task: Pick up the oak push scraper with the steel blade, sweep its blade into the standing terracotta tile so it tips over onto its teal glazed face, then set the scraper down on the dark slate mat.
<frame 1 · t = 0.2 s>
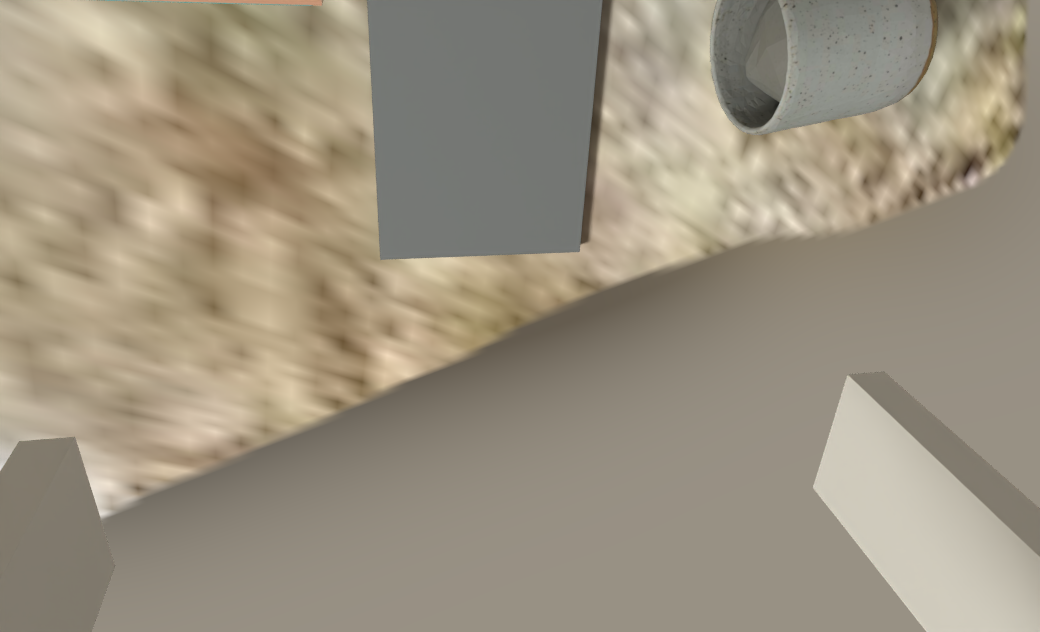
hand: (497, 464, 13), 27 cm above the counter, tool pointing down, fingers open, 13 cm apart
ceramic mug: (775, 4, 38), on the counter
slate mat: (483, 113, 37), on the counter
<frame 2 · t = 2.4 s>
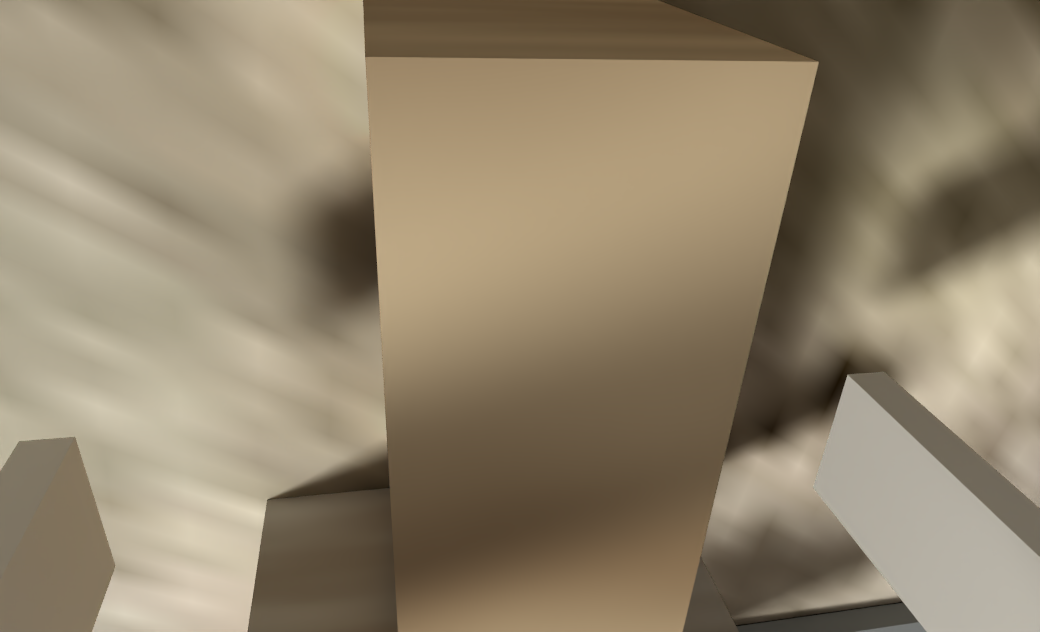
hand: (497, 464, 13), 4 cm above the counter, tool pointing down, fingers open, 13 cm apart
oak scraper: (472, 272, 16), on the counter
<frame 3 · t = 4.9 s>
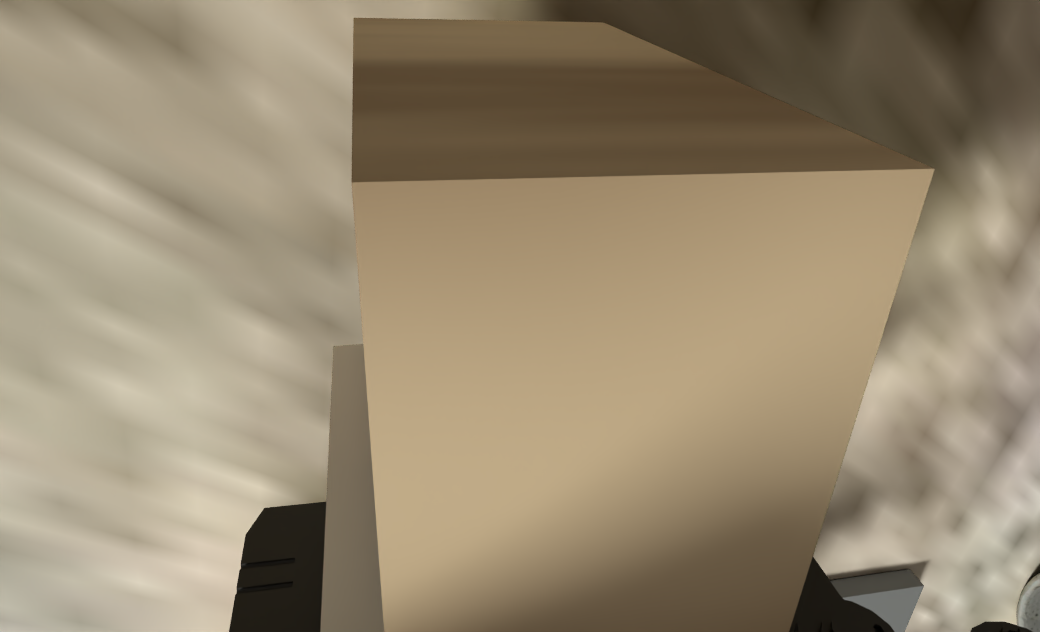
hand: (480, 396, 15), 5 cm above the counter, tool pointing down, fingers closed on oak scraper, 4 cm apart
oak scraper: (478, 345, 15), point 4 cm above the counter, touching gripper
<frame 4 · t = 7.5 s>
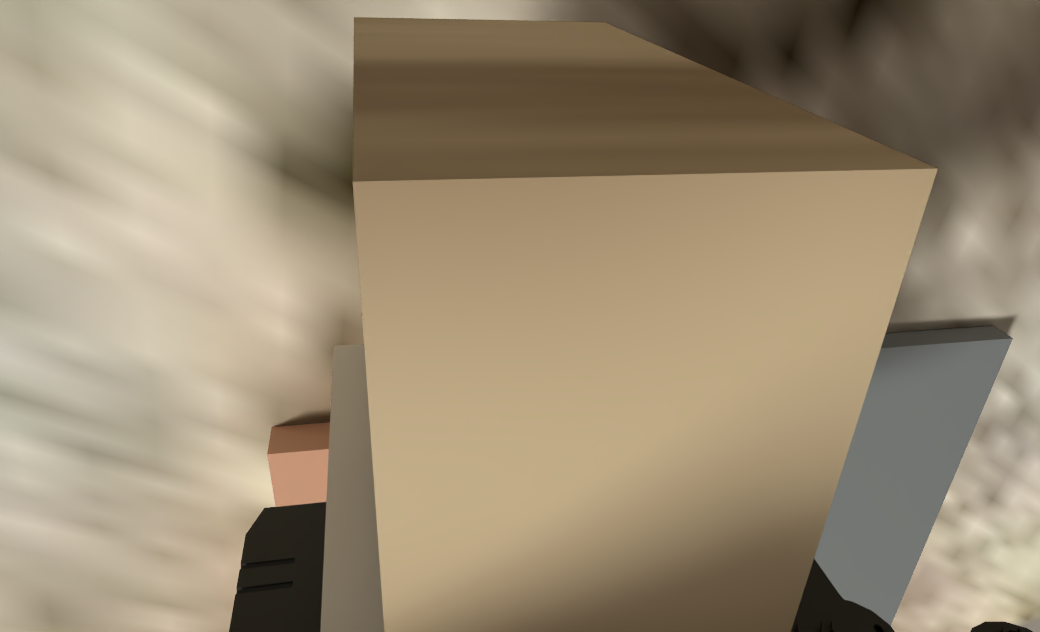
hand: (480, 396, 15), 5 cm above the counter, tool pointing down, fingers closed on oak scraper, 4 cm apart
oak scraper: (478, 345, 14), point 5 cm above the counter, touching gripper
slate mat: (787, 516, 26), on the counter
glazed tile: (453, 420, 21), on the counter, tilted 90°
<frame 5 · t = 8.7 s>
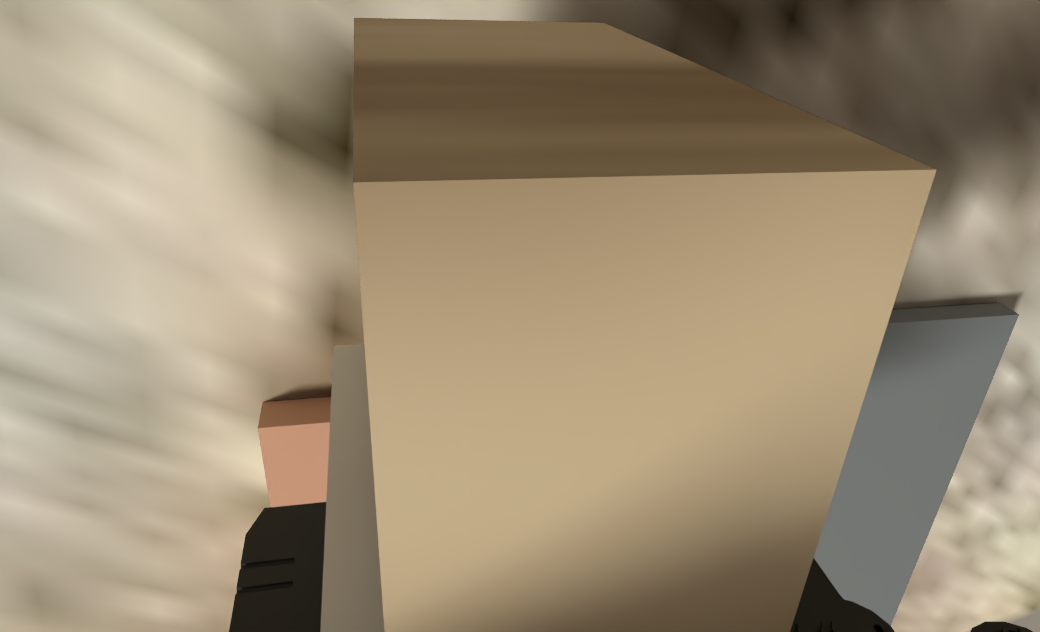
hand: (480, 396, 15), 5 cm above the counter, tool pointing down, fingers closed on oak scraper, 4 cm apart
oak scraper: (478, 345, 14), point 5 cm above the counter, touching gripper
slate mat: (790, 500, 26), on the counter
glazed tile: (449, 395, 20), on the counter, tilted 90°
when the fingers open (2 cm above the counter, at t = 12.5 s): oak scraper stays where it is, resting on slate mat.
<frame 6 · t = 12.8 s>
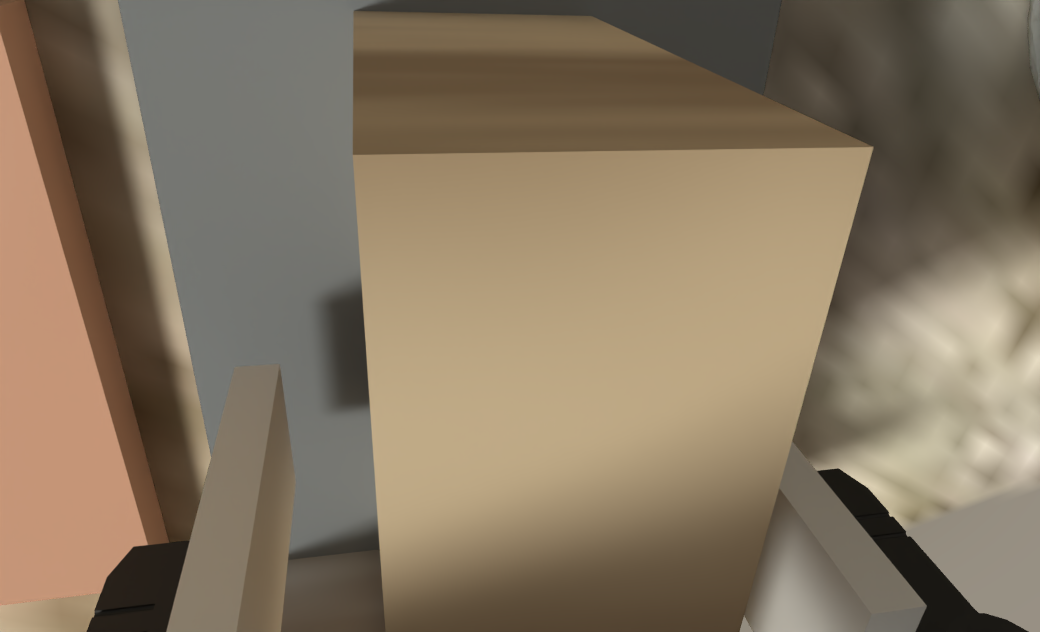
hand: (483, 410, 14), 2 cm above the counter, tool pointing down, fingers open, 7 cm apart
oak scraper: (472, 326, 15), point 1 cm above the counter, touching slate mat
slate mat: (467, 306, 16), on the counter
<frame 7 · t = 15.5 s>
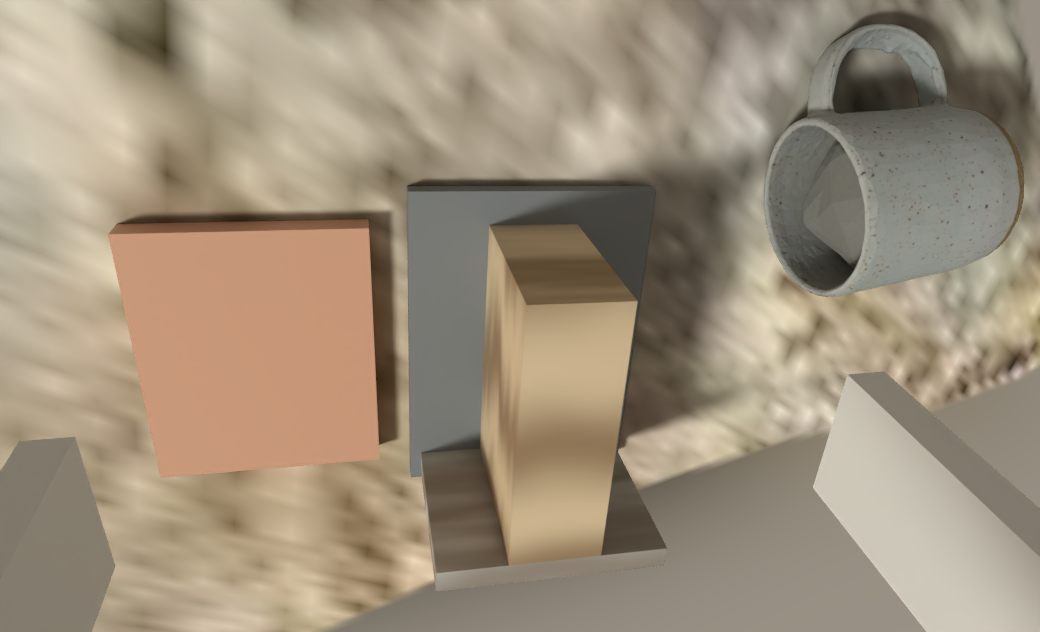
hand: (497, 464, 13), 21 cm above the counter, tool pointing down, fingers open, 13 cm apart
ceramic mug: (835, 145, 35), on the counter
oak scraper: (525, 343, 35), point 1 cm above the counter, touching slate mat
slate mat: (522, 335, 36), on the counter
glazed tile: (245, 224, 30), on the counter, tilted 90°
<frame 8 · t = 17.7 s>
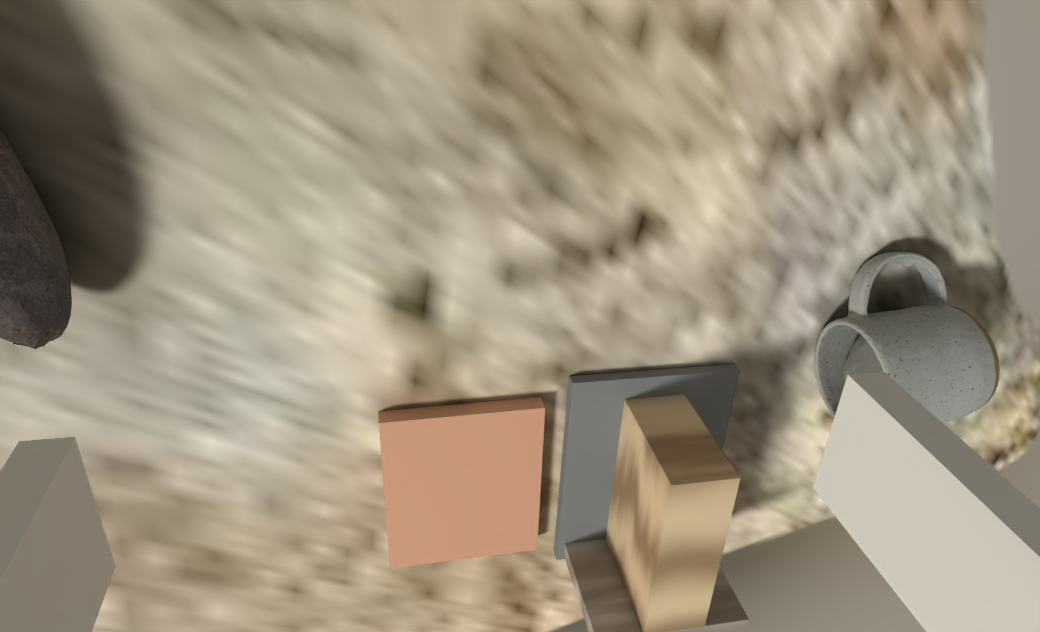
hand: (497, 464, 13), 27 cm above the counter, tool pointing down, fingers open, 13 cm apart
ceramic mug: (866, 320, 48), on the counter
oak scraper: (642, 470, 49), point 1 cm above the counter, touching slate mat
slate mat: (639, 462, 50), on the counter
glazed tile: (462, 407, 45), on the counter, tilted 90°
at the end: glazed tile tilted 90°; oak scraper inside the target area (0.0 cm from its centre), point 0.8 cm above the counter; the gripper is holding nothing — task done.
